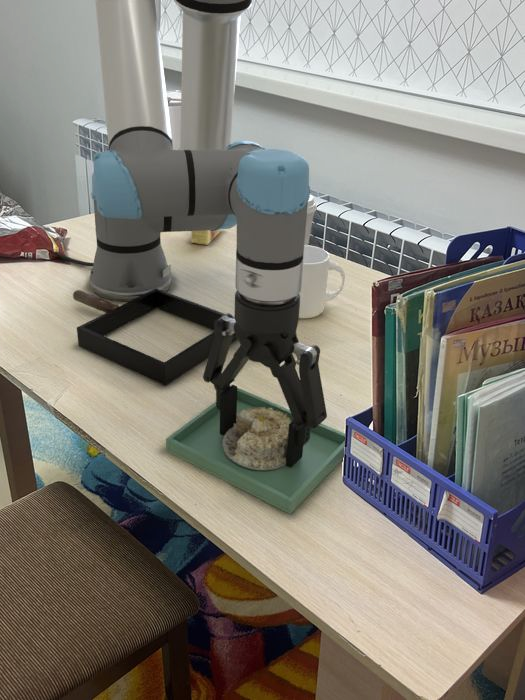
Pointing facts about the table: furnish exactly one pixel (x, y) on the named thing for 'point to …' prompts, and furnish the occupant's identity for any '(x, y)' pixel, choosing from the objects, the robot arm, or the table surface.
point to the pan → (118, 316)
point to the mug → (316, 281)
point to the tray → (271, 485)
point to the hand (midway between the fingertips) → (260, 445)
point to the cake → (258, 439)
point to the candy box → (203, 236)
